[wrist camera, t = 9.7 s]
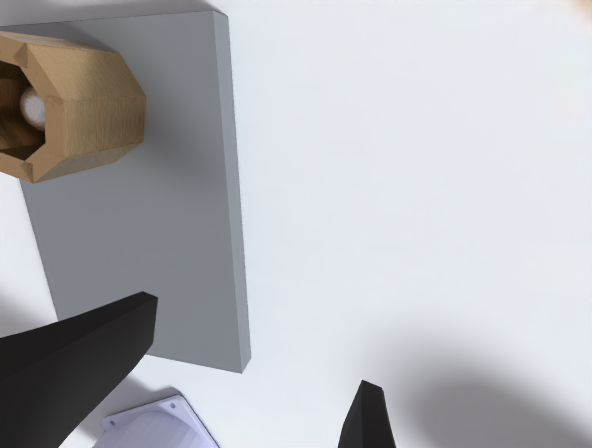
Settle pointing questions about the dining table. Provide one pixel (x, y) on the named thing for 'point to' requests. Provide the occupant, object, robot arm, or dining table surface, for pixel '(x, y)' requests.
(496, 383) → the dining table surface
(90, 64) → the bronze ring
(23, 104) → the steel pin
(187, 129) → the slate block
